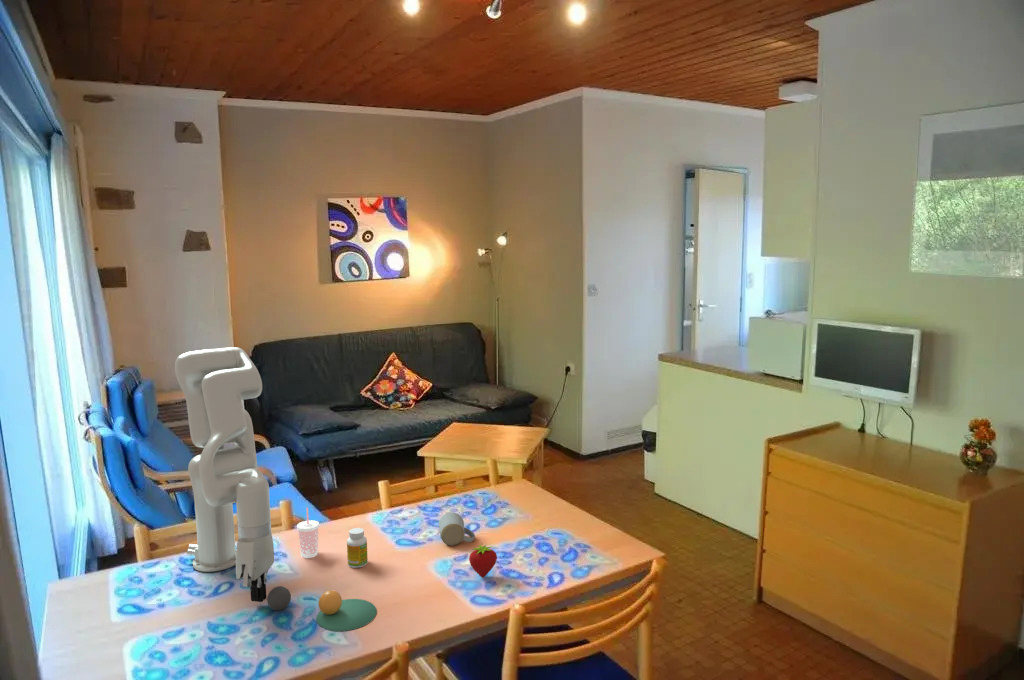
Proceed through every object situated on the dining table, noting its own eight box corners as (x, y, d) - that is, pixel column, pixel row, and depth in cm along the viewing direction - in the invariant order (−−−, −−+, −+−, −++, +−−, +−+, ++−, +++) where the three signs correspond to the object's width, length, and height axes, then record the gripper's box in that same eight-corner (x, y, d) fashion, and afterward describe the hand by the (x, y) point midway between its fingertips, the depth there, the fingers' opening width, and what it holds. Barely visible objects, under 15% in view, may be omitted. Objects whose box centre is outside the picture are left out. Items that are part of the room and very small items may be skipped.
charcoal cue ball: (278, 593, 162) (285, 614, 162) (291, 580, 167) (298, 600, 168) (259, 595, 163) (266, 616, 164) (272, 583, 168) (279, 603, 169)
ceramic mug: (440, 548, 199) (440, 523, 198) (438, 536, 207) (438, 512, 205) (476, 546, 200) (476, 521, 199) (473, 534, 208) (473, 510, 207)
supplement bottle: (362, 569, 186) (361, 535, 184) (344, 567, 187) (343, 534, 185) (370, 560, 191) (369, 527, 190) (352, 558, 192) (351, 525, 191)
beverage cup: (311, 560, 191) (309, 513, 189) (293, 557, 193) (291, 510, 191) (324, 551, 196) (322, 505, 194) (307, 548, 199) (305, 502, 197)
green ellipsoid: (305, 627, 158) (305, 627, 158) (332, 597, 171) (332, 596, 171) (362, 634, 155) (362, 633, 155) (385, 602, 169) (385, 601, 169)
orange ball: (331, 595, 160) (338, 617, 160) (341, 584, 165) (348, 604, 166) (311, 599, 161) (318, 621, 162) (321, 588, 166) (329, 609, 167)
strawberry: (499, 580, 180) (499, 544, 178) (471, 584, 177) (471, 548, 176) (494, 570, 185) (493, 535, 184) (467, 573, 183) (466, 538, 182)
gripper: (257, 515, 172) (261, 583, 175) (222, 541, 158) (226, 614, 160) (284, 517, 171) (288, 586, 174) (251, 543, 156) (256, 617, 159)
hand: (258, 599), depth 167 cm, fingers closed
